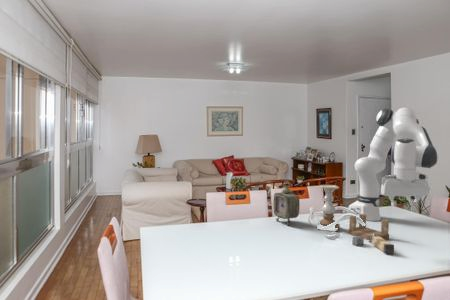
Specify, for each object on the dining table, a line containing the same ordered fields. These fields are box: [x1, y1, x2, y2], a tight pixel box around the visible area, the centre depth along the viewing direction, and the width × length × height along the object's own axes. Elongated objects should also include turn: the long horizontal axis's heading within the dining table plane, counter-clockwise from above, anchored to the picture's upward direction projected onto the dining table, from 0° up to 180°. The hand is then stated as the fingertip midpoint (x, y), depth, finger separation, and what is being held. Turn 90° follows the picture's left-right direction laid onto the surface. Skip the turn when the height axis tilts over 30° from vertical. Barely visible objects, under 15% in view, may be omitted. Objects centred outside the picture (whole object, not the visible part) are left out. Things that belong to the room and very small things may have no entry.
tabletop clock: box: [273, 180, 300, 226], centre depth 193 cm, size 14×9×25 cm, turn 25°
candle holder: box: [319, 184, 341, 229], centre depth 183 cm, size 11×11×24 cm
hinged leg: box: [369, 236, 395, 255], centre depth 152 cm, size 15×4×4 cm, turn 1°
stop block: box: [351, 236, 365, 247], centre depth 157 cm, size 2×5×4 cm, turn 121°
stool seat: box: [347, 214, 390, 241], centre depth 170 cm, size 16×11×9 cm
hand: (404, 205), depth 147 cm, fingers open, 8 cm apart
